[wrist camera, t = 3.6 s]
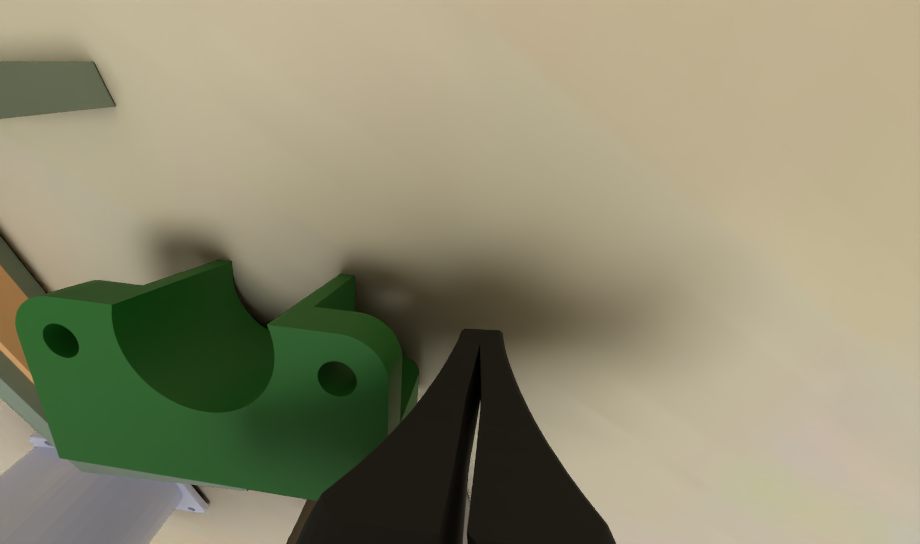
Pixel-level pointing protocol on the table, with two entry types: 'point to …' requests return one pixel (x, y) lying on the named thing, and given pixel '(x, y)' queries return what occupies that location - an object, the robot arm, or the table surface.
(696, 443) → the table surface
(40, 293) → the bracket
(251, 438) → the clamp
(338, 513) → the robot arm
